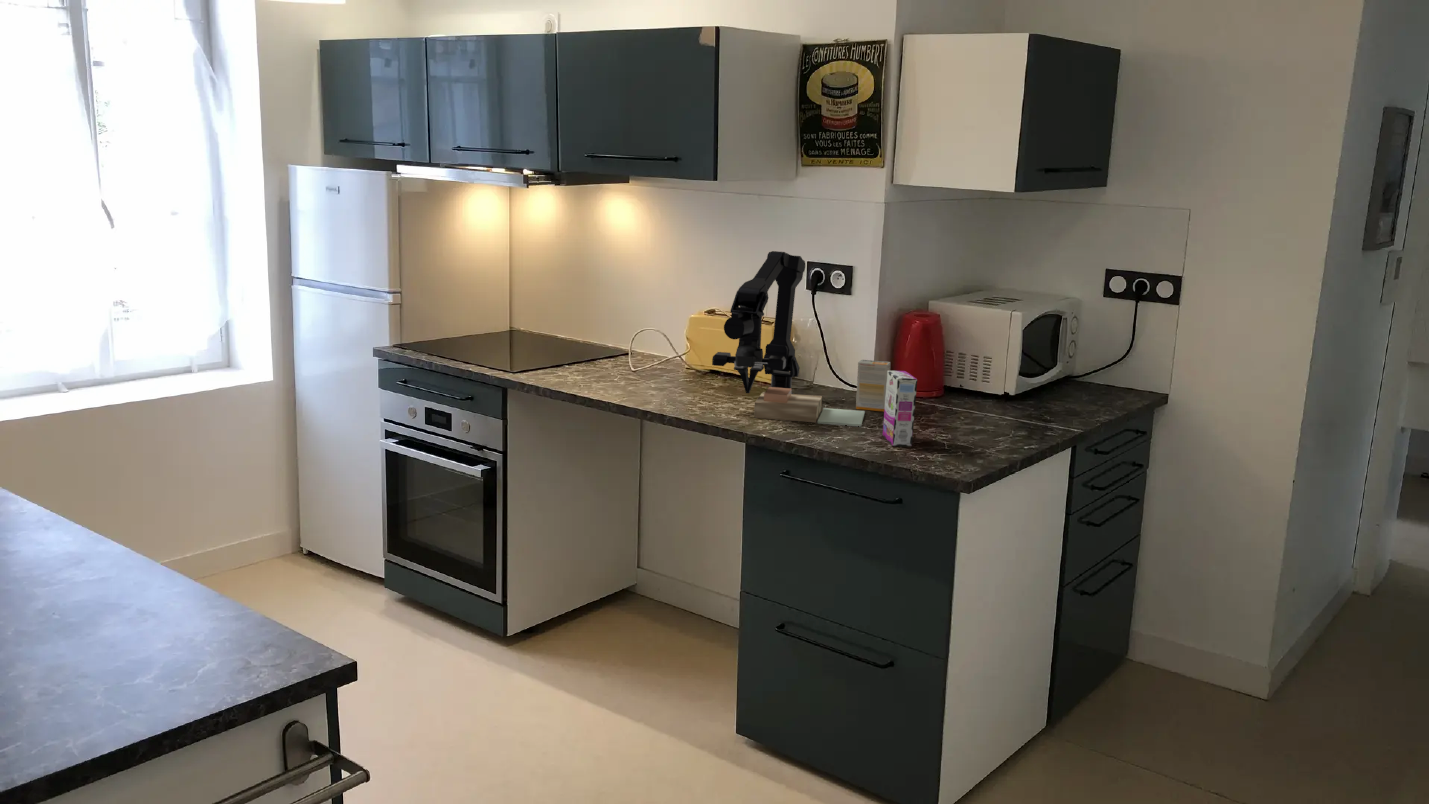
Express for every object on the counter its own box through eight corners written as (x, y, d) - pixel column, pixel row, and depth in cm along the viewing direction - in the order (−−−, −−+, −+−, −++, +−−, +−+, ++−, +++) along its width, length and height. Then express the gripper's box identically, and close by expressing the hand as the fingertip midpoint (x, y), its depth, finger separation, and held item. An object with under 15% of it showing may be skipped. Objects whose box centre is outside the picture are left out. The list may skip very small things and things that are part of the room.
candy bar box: (913, 447, 263) (918, 378, 259) (892, 446, 262) (897, 378, 259) (901, 435, 273) (906, 369, 270) (881, 435, 273) (886, 369, 270)
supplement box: (888, 409, 303) (891, 361, 300) (885, 412, 298) (888, 364, 296) (858, 405, 305) (861, 358, 303) (854, 409, 301) (857, 361, 298)
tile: (768, 394, 297) (769, 386, 296) (791, 395, 296) (791, 388, 295) (763, 401, 288) (764, 393, 288) (786, 402, 287) (787, 395, 287)
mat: (823, 410, 298) (823, 408, 298) (864, 413, 296) (864, 411, 296) (817, 423, 283) (817, 421, 283) (860, 426, 281) (861, 424, 281)
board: (762, 406, 300) (762, 391, 300) (821, 410, 297) (822, 396, 297) (754, 417, 287) (754, 402, 286) (815, 422, 284) (816, 407, 283)
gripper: (708, 336, 284) (707, 396, 287) (781, 341, 280) (778, 401, 284) (717, 330, 295) (715, 388, 298) (787, 335, 291) (784, 393, 294)
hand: (747, 393), depth 293 cm, fingers closed
